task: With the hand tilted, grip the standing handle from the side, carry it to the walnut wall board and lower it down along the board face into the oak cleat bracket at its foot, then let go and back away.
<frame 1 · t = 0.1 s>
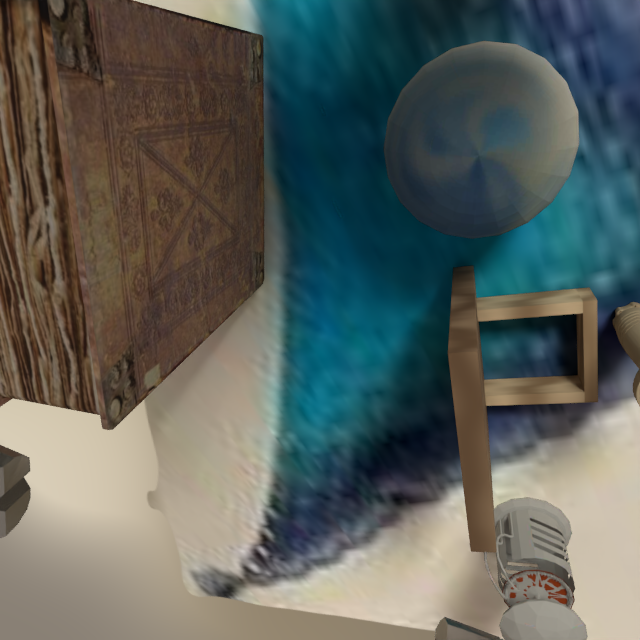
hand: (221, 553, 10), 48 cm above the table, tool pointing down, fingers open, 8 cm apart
book: (223, 167, 57), on the table
decorative ball: (475, 137, 50), on the table
handle: (629, 315, 53), on the table
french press: (522, 524, 66), on the table
cleat board: (525, 342, 57), on the table
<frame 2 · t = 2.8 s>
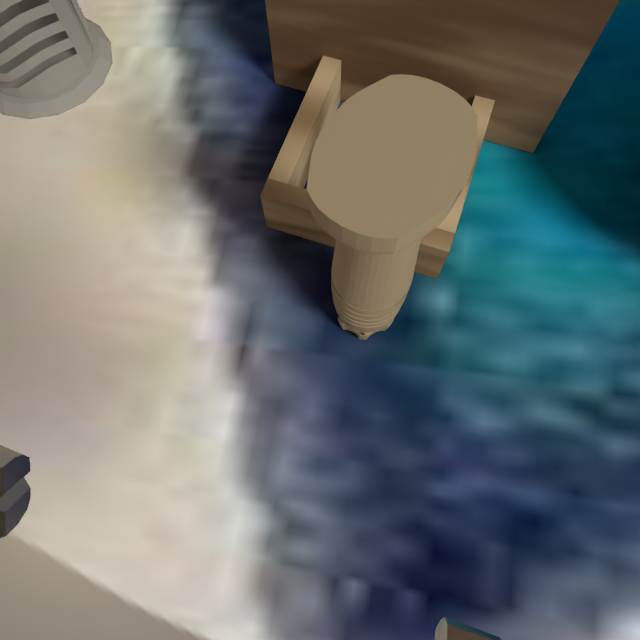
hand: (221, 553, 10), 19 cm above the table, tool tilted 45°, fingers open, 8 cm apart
handle: (363, 316, 31), on the table
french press: (57, 61, 38), on the table
cleat board: (380, 170, 35), on the table
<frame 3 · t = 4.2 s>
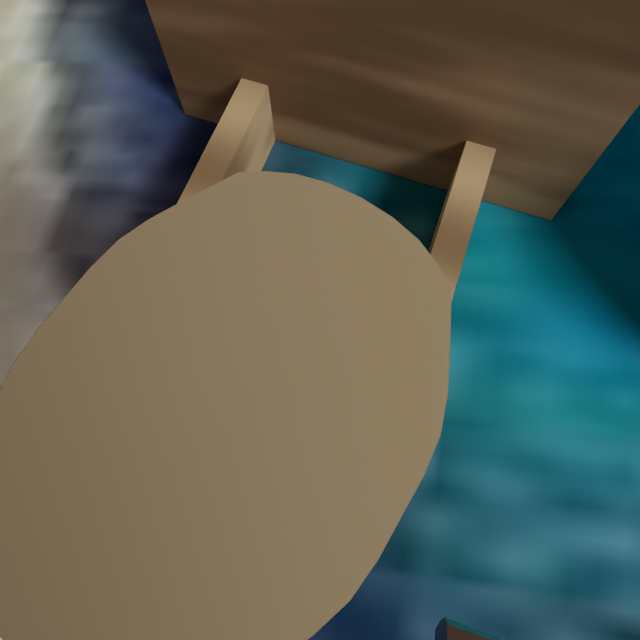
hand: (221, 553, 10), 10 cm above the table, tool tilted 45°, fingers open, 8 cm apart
handle: (294, 479, 21), on the table
cleat board: (328, 245, 24), on the table
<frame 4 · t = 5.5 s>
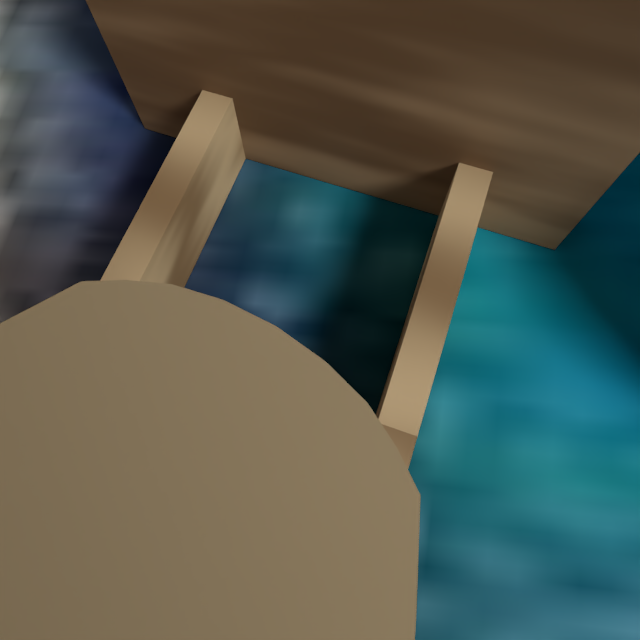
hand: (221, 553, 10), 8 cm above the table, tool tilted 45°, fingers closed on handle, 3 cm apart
handle: (260, 555, 18), on the table, touching gripper
cleat board: (303, 279, 21), on the table
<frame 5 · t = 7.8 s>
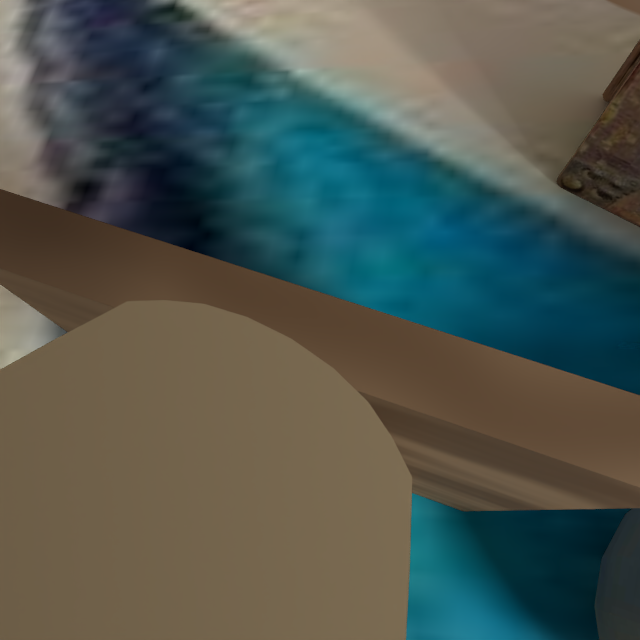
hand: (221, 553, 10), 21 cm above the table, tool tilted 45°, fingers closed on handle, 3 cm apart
handle: (258, 562, 18), point 12 cm above the table, touching gripper
cleat board: (284, 535, 30), on the table
when the fingers open (10 cm above the table, at t = 10.2 s): handle stays where it is, resting in cleat board.
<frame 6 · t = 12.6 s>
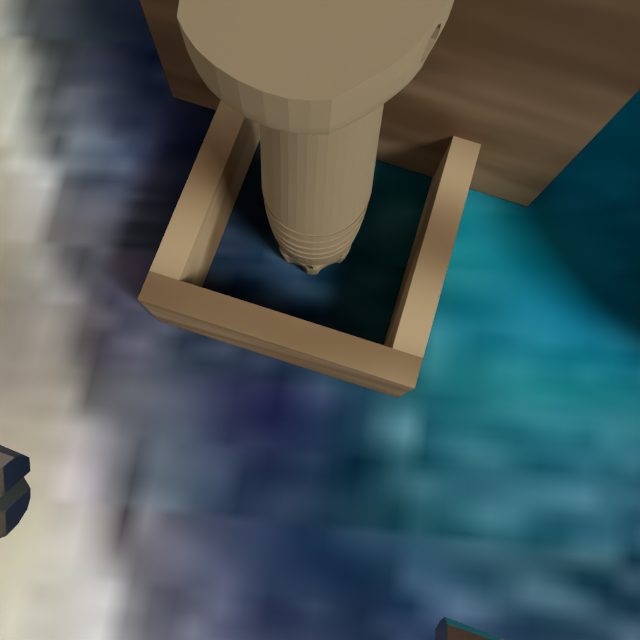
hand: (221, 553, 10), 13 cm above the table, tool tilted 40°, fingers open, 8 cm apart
handle: (314, 244, 25), resting in cleat board
cleat board: (320, 233, 25), on the table
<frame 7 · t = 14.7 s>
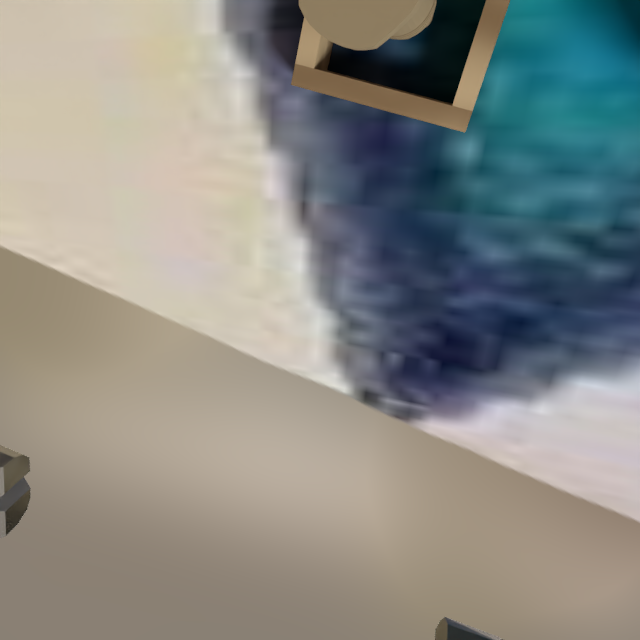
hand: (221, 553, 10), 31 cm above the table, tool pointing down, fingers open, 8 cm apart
handle: (408, 9, 33), resting in cleat board
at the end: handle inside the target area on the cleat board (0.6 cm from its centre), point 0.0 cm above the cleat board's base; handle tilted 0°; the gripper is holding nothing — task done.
